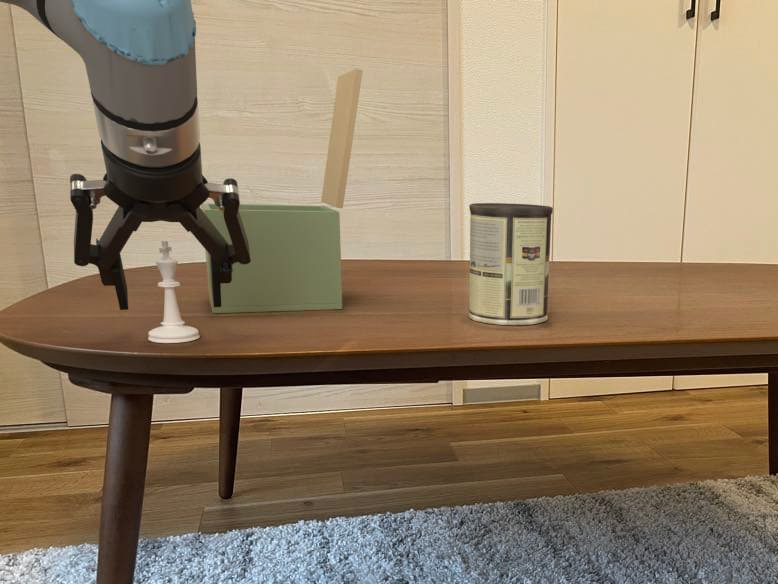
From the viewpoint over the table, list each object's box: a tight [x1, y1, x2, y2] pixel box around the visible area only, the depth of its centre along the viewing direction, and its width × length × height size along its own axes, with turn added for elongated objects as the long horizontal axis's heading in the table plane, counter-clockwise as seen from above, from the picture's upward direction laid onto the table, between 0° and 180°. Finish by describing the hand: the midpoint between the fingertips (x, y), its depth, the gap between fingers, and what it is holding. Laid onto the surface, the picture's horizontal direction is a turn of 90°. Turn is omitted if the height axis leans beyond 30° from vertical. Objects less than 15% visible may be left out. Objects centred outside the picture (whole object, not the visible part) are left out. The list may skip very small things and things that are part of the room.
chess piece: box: [147, 240, 201, 344], centre depth 80 cm, size 5×5×10 cm
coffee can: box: [468, 202, 554, 326], centre depth 98 cm, size 10×10×14 cm
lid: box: [320, 68, 363, 209], centre depth 100 cm, size 16×12×1 cm
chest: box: [201, 202, 343, 314], centre depth 101 cm, size 16×12×12 cm
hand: (171, 297), depth 83 cm, fingers open, 8 cm apart
